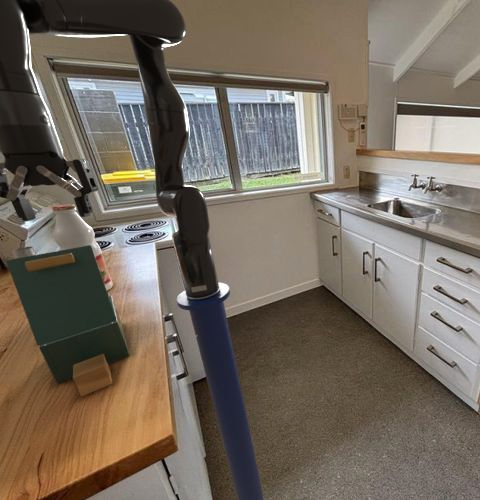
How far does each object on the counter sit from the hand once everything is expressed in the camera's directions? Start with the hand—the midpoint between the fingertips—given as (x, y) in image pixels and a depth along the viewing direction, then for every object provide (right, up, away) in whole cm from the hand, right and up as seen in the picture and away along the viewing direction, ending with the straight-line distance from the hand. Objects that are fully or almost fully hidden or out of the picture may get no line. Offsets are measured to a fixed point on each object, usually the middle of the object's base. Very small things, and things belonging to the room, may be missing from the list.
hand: (58, 218), depth 53 cm
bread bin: (-4, -29, +11) cm, 31 cm away
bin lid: (-1, -14, +2) cm, 15 cm away
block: (+5, -32, +2) cm, 33 cm away
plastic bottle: (-27, -25, +25) cm, 44 cm away
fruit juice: (-28, -19, +39) cm, 52 cm away
